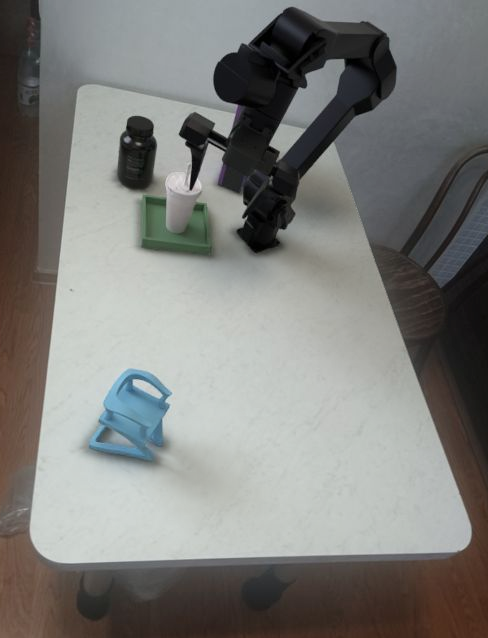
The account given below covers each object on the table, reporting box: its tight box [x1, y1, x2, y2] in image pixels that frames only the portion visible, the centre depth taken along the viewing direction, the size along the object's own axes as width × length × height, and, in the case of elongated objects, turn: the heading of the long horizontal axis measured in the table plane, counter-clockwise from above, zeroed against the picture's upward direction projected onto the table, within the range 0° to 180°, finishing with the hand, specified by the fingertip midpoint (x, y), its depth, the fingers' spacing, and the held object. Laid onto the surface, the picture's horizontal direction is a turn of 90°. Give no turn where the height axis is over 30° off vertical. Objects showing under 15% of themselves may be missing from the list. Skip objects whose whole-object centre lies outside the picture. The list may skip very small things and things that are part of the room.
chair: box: [88, 368, 173, 462], centre depth 68 cm, size 8×8×12 cm
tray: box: [140, 193, 212, 256], centre depth 99 cm, size 12×12×2 cm
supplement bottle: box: [116, 115, 158, 190], centre depth 101 cm, size 7×7×12 cm
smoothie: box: [164, 161, 203, 233], centre depth 94 cm, size 6×6×14 cm
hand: (217, 203), depth 85 cm, fingers open, 9 cm apart
